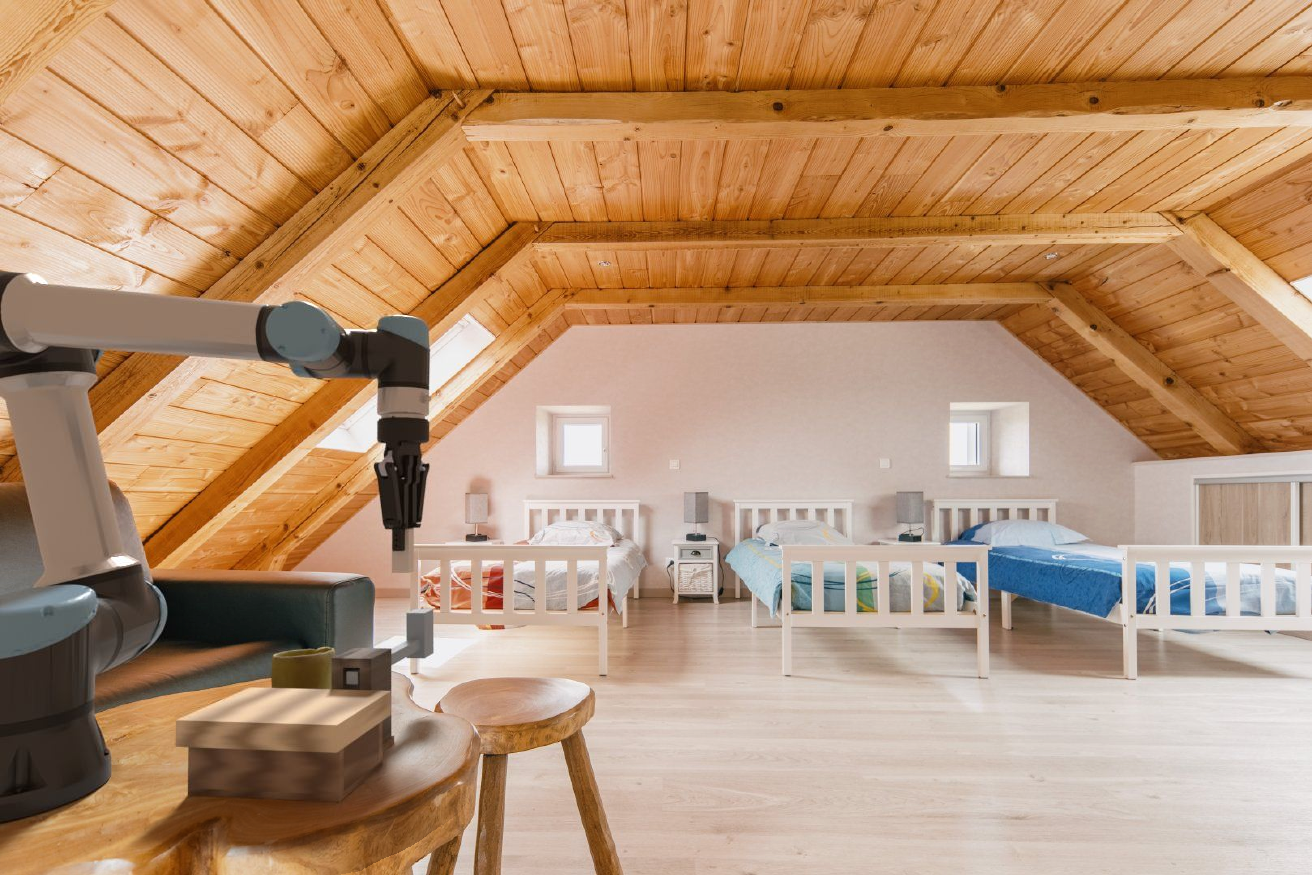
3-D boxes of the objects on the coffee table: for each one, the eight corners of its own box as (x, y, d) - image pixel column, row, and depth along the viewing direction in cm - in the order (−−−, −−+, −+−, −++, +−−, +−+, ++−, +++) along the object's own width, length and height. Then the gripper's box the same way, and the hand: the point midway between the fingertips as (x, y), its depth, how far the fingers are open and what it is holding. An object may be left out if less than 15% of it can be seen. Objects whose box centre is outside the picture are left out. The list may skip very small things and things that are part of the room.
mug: (311, 703, 102) (304, 638, 105) (256, 721, 103) (251, 656, 106) (365, 693, 113) (357, 634, 116) (315, 709, 115) (308, 651, 118)
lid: (175, 759, 76) (175, 720, 76) (249, 721, 87) (249, 687, 88) (336, 766, 73) (336, 725, 74) (391, 726, 85) (391, 690, 85)
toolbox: (187, 794, 77) (189, 683, 78) (282, 739, 93) (283, 646, 93) (339, 802, 75) (339, 686, 75) (410, 743, 90) (409, 648, 91)
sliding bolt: (341, 694, 87) (341, 640, 87) (415, 652, 107) (415, 608, 107) (362, 695, 87) (362, 641, 87) (433, 653, 106) (433, 609, 107)
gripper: (405, 413, 95) (404, 579, 94) (445, 420, 108) (445, 565, 107) (356, 414, 96) (354, 578, 95) (402, 421, 109) (401, 565, 108)
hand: (402, 571), depth 101 cm, fingers closed
